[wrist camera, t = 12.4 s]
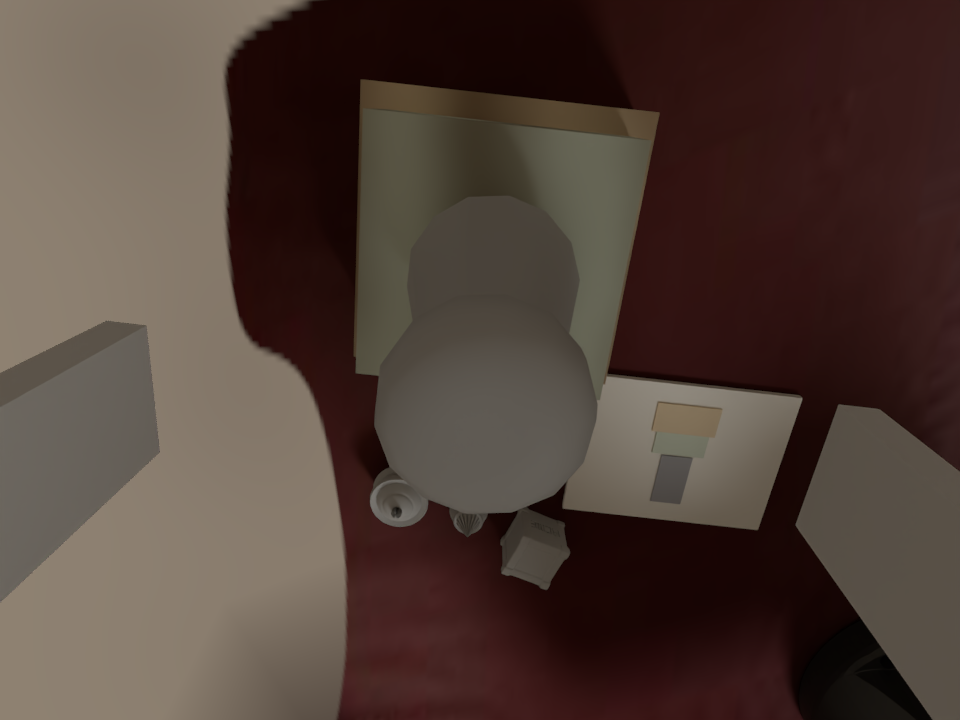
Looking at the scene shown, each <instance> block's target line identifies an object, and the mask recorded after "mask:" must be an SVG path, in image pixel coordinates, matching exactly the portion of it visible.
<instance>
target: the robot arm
mask: <svg viewBox="0 0 960 720" xmlns="http://www.w3.org/2000/svg"><path fill="white" fill-rule="evenodd" d="M156 422H157V421H156V413H155V402H154V393H153V383H152V374H151V365H150V355H149V345H148V337H147V327H146V325H137V324H129V323H120V322H111V321H105V322H103V323H101V324H99V325H97V326H95V327H93V328H91V329H89V330H87V331H85V332H83V333H81V334H79V335H77V336H75V337H73V338H71V339H69V340H67V341H65V342H63V343H61V344H58V345H56V346H54V347H52V348H50V349H48V350H46V351H45V352H42V353H40V354H38V355H36V356H34V357H32V358H30V359H28V360H26V361H24V362H22V363H20V364H18V365H16V366H14V367H12V368H10V369H8V370H6V371H4V372H2V373H0V602H1V601H2V600H3V599H4V598H5V597H6V596H7V595H9V594H10V593H11V592H12V591H13V590H14V589H15V588H16V587H17V586H18V585H19V584H20V583H21V582H22V581H23V580H25V579H26V578H27V577H28V576H29V575H30V574H31V573H32V572H33V571H34V570H35V569H36V568H37V567H38V566H39V565H40V564H41V563H42V562H44V561H45V560H46V559H47V558H48V557H49V556H50V555H51V554H52V553H53V552H54V551H55V550H56V549H57V548H58V547H60V546H61V545H62V544H63V543H64V542H65V541H66V540H67V539H68V538H69V537H70V536H71V535H72V534H73V533H74V532H75V531H77V530H78V529H79V528H80V527H81V526H82V525H83V524H84V523H85V522H86V521H87V520H88V519H89V518H90V517H91V516H92V515H94V513H95V512H97V511H98V510H99V509H100V508H101V507H102V506H103V505H104V504H105V503H106V502H107V501H108V500H109V499H110V498H111V497H113V496H114V495H115V494H116V493H117V492H118V491H119V490H120V489H121V488H122V487H123V486H124V485H125V484H126V483H127V482H128V481H130V479H132V478H133V477H134V476H135V475H136V474H137V473H138V472H139V471H140V470H141V469H142V468H143V467H144V466H145V465H147V464H148V463H149V461H151V460H152V459H153V458H154V457H155V456H156V455H157V454H158V453H159V452H160V451H159V440H158V432H157V423H156ZM795 526H796V527H797V528H798V530H799V531H800V533H801V534H802V535H803V537H804V538H805V540H806V541H807V543H808V544H809V545H810V547H811V548H812V550H813V551H814V552H815V554H816V555H817V557H818V558H819V560H820V561H821V562H822V564H823V565H824V567H825V568H826V569H827V571H828V572H829V574H830V575H831V577H832V578H833V579H834V581H835V582H836V584H837V585H838V586H839V588H840V589H841V591H842V592H843V594H844V595H845V596H846V598H847V599H848V601H849V602H850V603H851V605H852V606H853V608H854V609H855V611H856V612H857V613H858V615H859V616H860V618H861V619H862V620H860V621H858V622H857V623H855V624H853V625H851V626H849V627H848V628H846V629H845V630H843V631H842V632H840V633H839V634H837V635H836V636H835V637H834V638H832V639H831V640H830V641H829V642H828V643H827V644H826V645H824V646H823V648H822V649H821V650H820V651H819V652H818V653H817V654H816V655H815V657H814V658H813V659H812V661H811V662H810V664H809V665H808V667H807V669H806V671H805V673H804V675H803V678H802V681H801V684H800V689H799V707H800V711H801V715H802V717H803V720H960V472H959V471H958V470H957V469H956V468H954V467H953V466H952V465H950V464H949V463H948V462H947V461H945V460H944V459H943V458H941V457H940V456H939V455H938V454H936V453H935V452H934V451H932V450H931V449H930V448H929V447H927V446H926V445H925V444H923V443H922V442H921V441H920V440H918V439H917V438H916V437H914V436H913V435H912V434H911V433H909V432H908V431H907V430H905V429H904V428H903V427H902V426H900V425H899V424H898V423H896V422H895V421H894V420H893V419H891V418H890V417H889V416H888V415H886V414H885V413H884V412H882V411H881V410H880V409H875V408H866V407H857V406H848V405H838V407H837V410H836V413H835V416H834V419H833V421H832V424H831V427H830V430H829V432H828V435H827V438H826V441H825V444H824V446H823V449H822V452H821V455H820V458H819V460H818V463H817V466H816V469H815V472H814V474H813V477H812V480H811V483H810V486H809V488H808V491H807V494H806V497H805V500H804V502H803V505H802V508H801V511H800V513H799V516H798V519H797V522H796V525H795Z"/></svg>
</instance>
